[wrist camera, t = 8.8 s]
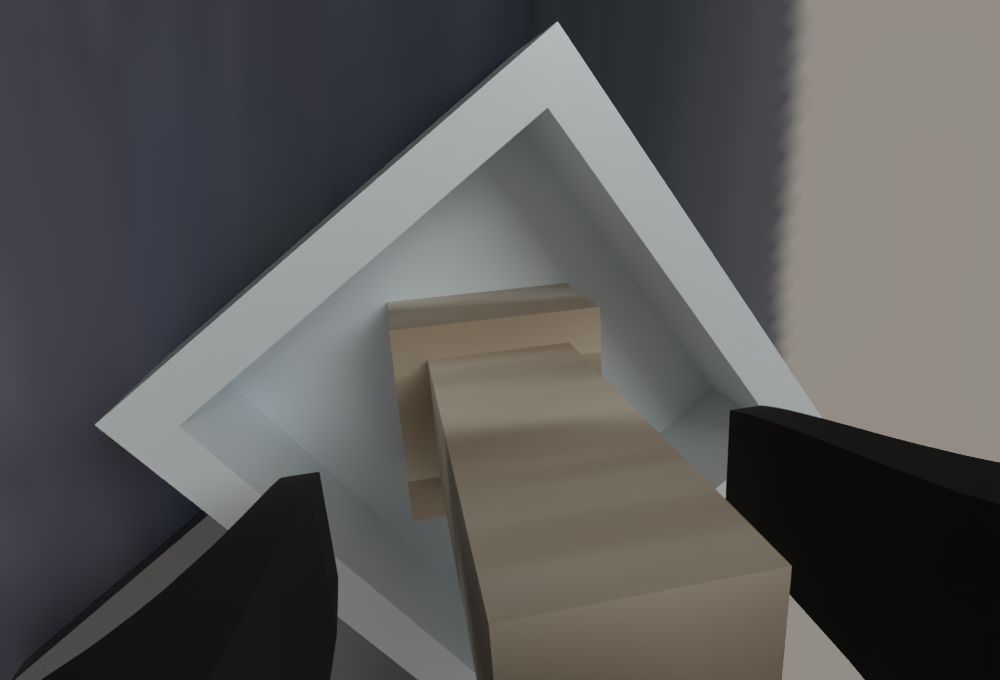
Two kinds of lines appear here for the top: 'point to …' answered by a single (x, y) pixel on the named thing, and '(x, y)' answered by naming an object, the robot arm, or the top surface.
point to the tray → (442, 272)
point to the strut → (572, 503)
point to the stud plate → (356, 664)
